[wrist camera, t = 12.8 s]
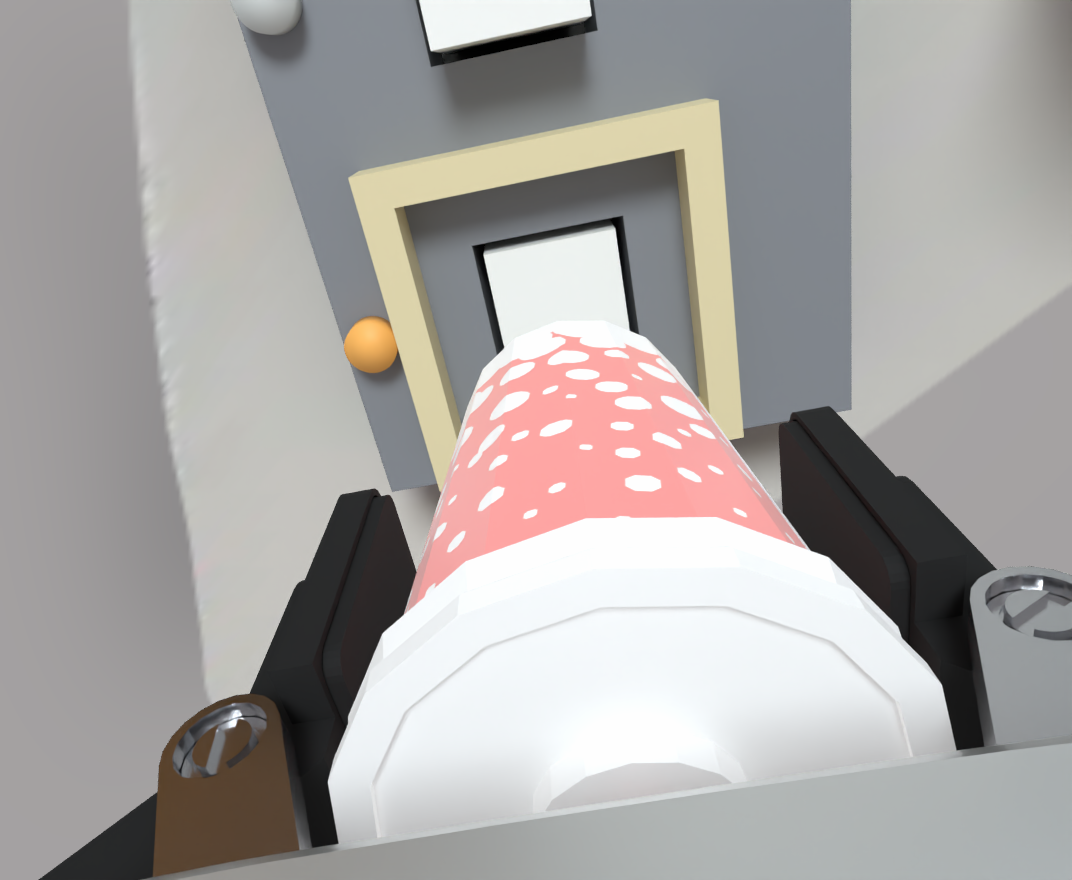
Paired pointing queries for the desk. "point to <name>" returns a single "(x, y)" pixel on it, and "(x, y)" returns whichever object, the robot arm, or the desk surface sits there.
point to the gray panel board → (573, 193)
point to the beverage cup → (614, 614)
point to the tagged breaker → (556, 278)
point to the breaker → (495, 20)
